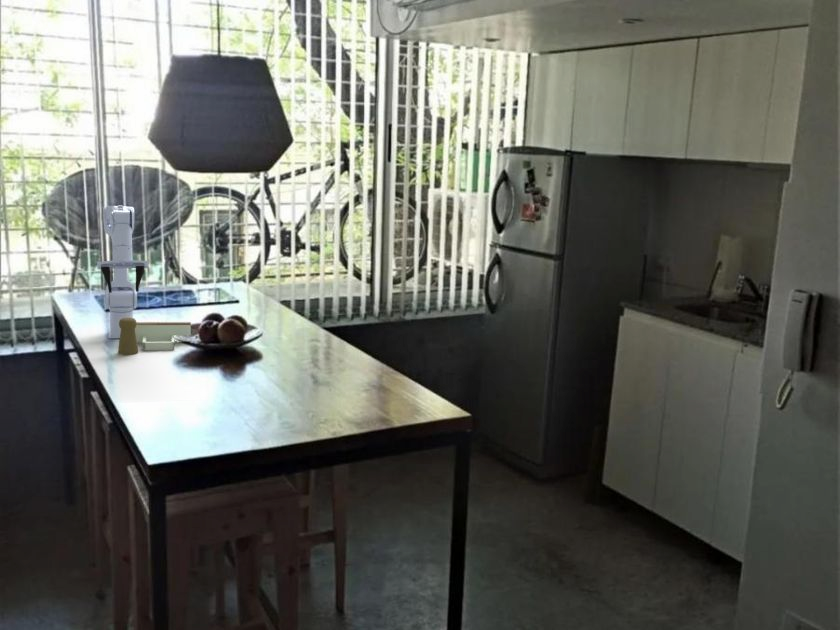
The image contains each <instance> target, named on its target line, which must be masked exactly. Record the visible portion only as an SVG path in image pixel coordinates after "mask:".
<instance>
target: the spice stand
mask: <svg viewBox="0 0 840 630" xmlns="http://www.w3.org/2000/svg"><path fill="white" fill-rule="evenodd" d="M136 322H137V325H136V328H135V333H136V340H137V344H139V343H140V344H142V351H173V350H174V351H175V343H178V342H177V341H175V340H174V335H192V334H191V332H192V329H191V327H192V326H191V325H192V324H191V321H156V322H155V321H153V322H152V321H148V322H147V321H141V322H140V321H136Z"/></svg>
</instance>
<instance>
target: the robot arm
mask: <svg viewBox="0 0 840 630" xmlns="http://www.w3.org/2000/svg"><path fill="white" fill-rule="evenodd" d="M102 214H103V217H102V218H103V219H102V221H103V230H104V233H105V234H107V235H108V236H109V237H110V238H111V239H110V240H111V244H112V245H111V246H112V248H111V249H112V260H105V261H97V262H96V267H97V270H98V271H100V270H101V273H102V275H103V276H104V279H105V281H106V286H105V292H104V293H105V295H104V298H105V308H106V309H107V310H109V333H108V336H107V338H108V339H120V332H121V328H120V327H119V321H120V319H122V318H134V309H136V308H138V292H139V290H140V285H141V281H142V278H143V276H144V274H145V271H146V270H145V269H149V261H148V260H138V259H137V260H135V259H133V257H134V256H133V233H134V230H135V208H134V207H133V206H126V205H125V206H123V205H119V204H118V205H104V206H103V207H102ZM111 269H112V270H113V280H112V270H111ZM128 269H135V284H134V283H132V282H131V281H130V280H129V279H128Z"/></svg>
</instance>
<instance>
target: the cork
mask: <svg viewBox="0 0 840 630" xmlns="http://www.w3.org/2000/svg"><path fill="white" fill-rule="evenodd" d="M137 322H138V321H137V320H136V319H135V318H134V317H133V318H122V319H120V321H119V327H120V328H121V332H120V338H119V342H118V347H117V348H118V349H117V353H118V354H119V355H121V354H122V356H133V355H137V354H138V353H139V347H138V343H137V340H136V333H135V328H136V325H137Z"/></svg>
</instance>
